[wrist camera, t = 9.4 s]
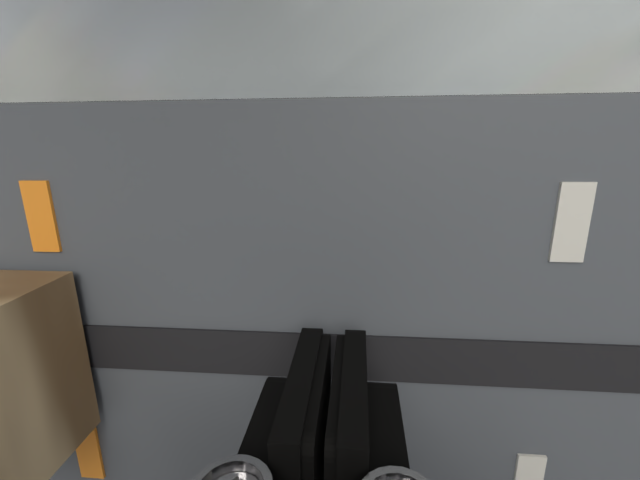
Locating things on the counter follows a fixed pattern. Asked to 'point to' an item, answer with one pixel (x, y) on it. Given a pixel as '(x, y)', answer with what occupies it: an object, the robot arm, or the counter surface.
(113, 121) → the board
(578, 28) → the counter surface
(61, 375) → the block
